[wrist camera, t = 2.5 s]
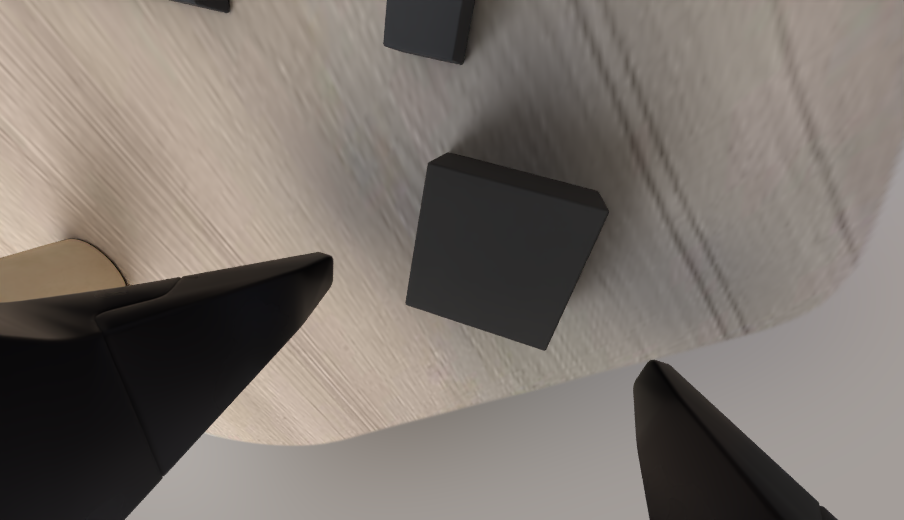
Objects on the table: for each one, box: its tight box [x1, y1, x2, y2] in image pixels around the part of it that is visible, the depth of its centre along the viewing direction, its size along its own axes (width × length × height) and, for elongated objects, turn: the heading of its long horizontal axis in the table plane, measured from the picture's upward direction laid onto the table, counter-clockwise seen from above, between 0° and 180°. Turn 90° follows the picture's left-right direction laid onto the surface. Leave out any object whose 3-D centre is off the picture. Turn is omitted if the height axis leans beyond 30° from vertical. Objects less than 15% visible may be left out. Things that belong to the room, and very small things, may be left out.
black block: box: [406, 153, 609, 350], centre depth 13 cm, size 6×6×2 cm
